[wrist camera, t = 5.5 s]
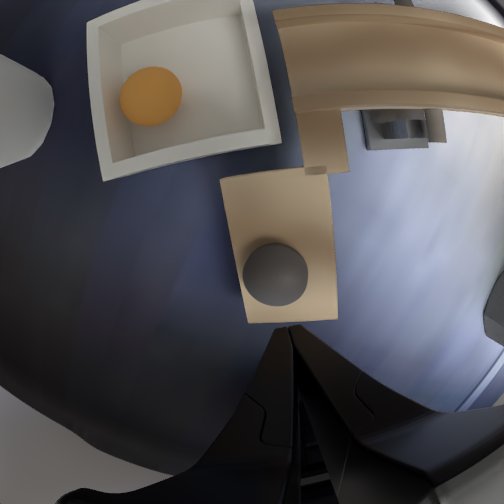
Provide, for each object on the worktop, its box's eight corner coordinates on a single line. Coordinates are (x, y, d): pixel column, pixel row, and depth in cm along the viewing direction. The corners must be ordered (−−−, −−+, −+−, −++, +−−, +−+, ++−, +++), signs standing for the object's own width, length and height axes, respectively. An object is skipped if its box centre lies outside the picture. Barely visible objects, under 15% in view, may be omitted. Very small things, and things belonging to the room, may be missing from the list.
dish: (277, 144, 15) (287, 141, 11) (129, 175, 15) (102, 181, 12) (250, 7, 12) (252, -23, 8) (111, 41, 12) (86, 22, 9)
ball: (113, 136, 12) (161, 130, 15) (146, 118, 10) (199, 114, 13) (106, 81, 11) (153, 80, 13) (138, 54, 9) (190, 59, 12)
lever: (551, 265, 12) (581, 290, 8) (256, 300, 18) (240, 343, 14) (539, 46, 6) (572, 37, 2) (208, 29, 12) (175, 0, 8)
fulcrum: (424, 147, 15) (454, 149, 12) (367, 150, 15) (393, 150, 12) (396, 21, 12) (420, 4, 9) (337, 14, 12) (355, -9, 9)
